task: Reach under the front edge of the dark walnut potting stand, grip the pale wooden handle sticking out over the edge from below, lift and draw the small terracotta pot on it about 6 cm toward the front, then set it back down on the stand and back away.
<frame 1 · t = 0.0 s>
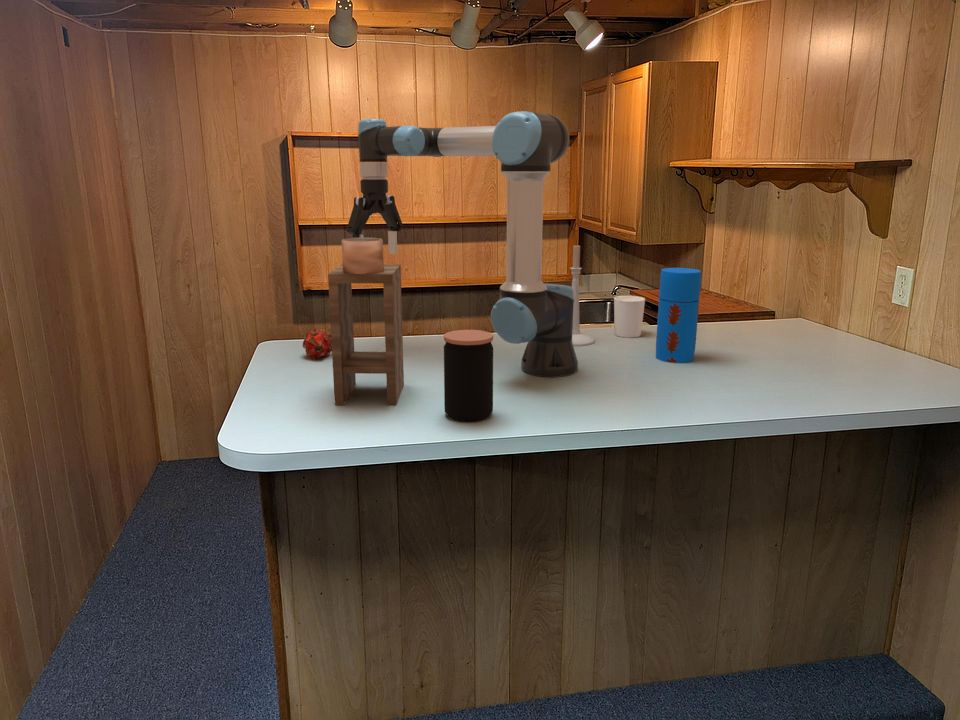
hand: (376, 256, 204), 28 cm above the table, tool pointing down, fingers open, 13 cm apart
potting stand: (370, 394, 173), on the table
thermos: (674, 358, 206), on the table
white cup: (627, 335, 233), on the table
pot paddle: (365, 269, 165), point 30 cm above the table, touching potting stand
candlestick: (573, 342, 225), on the table
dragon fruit: (319, 357, 207), on the table
coffee jar: (468, 415, 159), on the table
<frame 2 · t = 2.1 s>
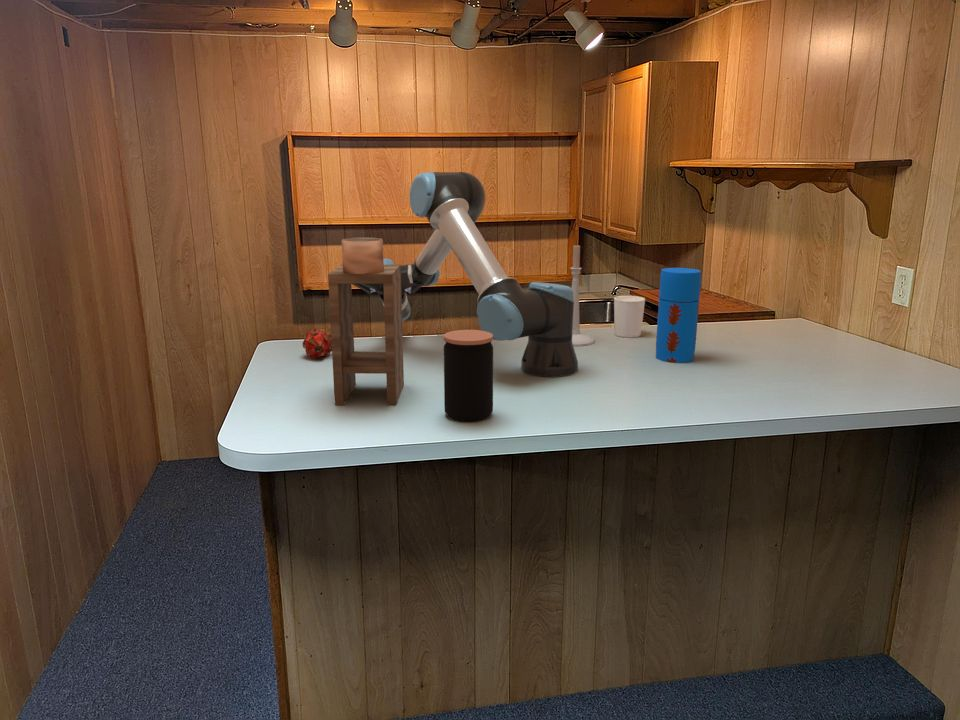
hand: (384, 269, 194), 26 cm above the table, tool pointing upward, fingers open, 13 cm apart
nothing on the table moved.
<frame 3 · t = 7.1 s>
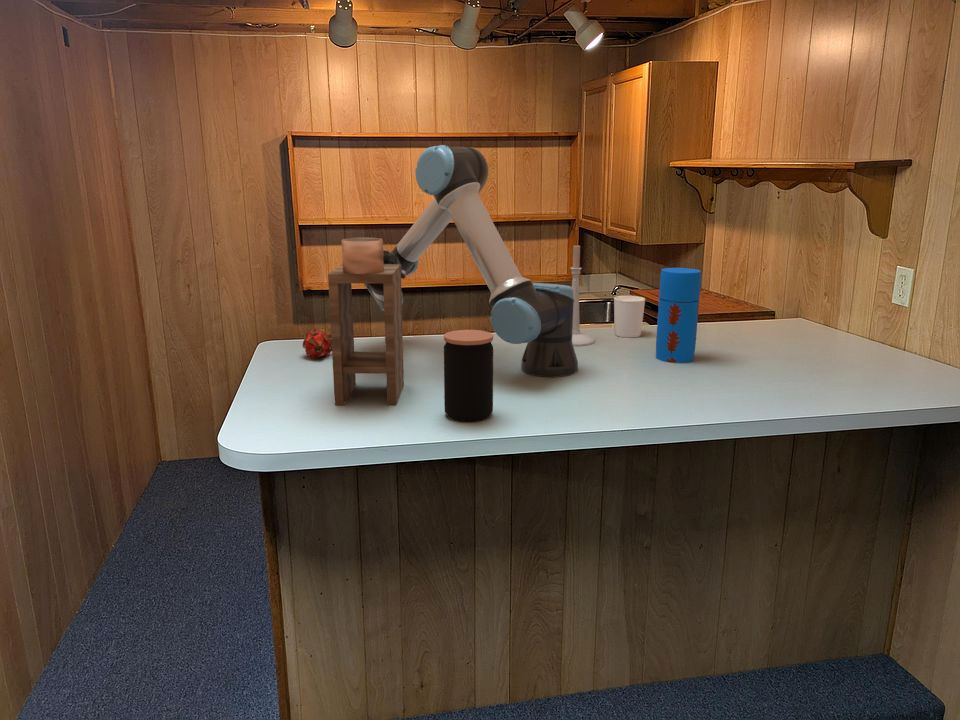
hand: (370, 247, 171), 34 cm above the table, tool pointing upward, fingers closed on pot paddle, 3 cm apart
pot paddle: (365, 269, 165), point 30 cm above the table, touching gripper
everything else where it was.
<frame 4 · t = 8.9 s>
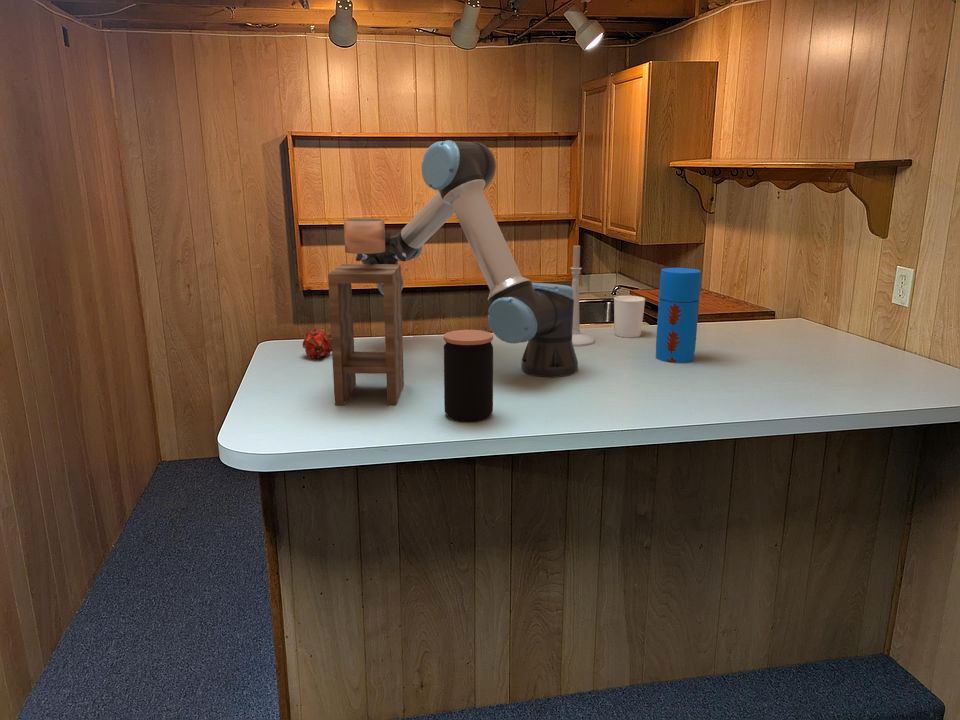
hand: (372, 229, 173), 38 cm above the table, tool pointing upward, fingers closed on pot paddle, 3 cm apart
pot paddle: (367, 249, 167), point 34 cm above the table, touching gripper
everything else where it was.
when the fingers open (35 cm above the table, at t = 11.2 s): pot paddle stays where it is, resting on potting stand.
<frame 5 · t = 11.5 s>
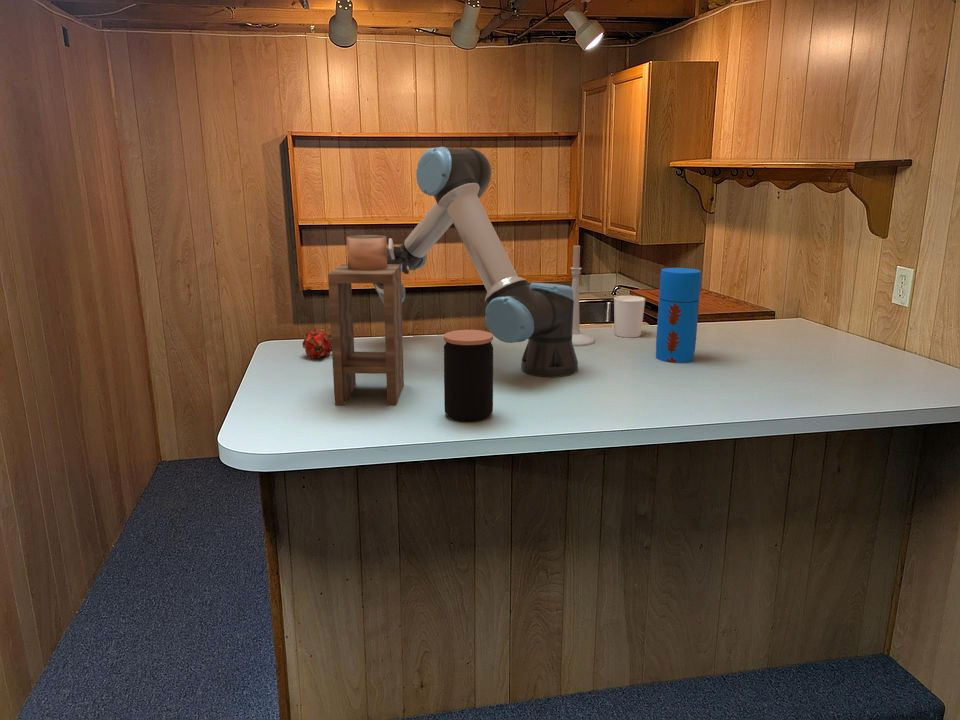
hand: (374, 243, 177), 34 cm above the table, tool pointing upward, fingers open, 7 cm apart
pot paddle: (370, 265, 171), point 30 cm above the table, touching potting stand
everything else where it was.
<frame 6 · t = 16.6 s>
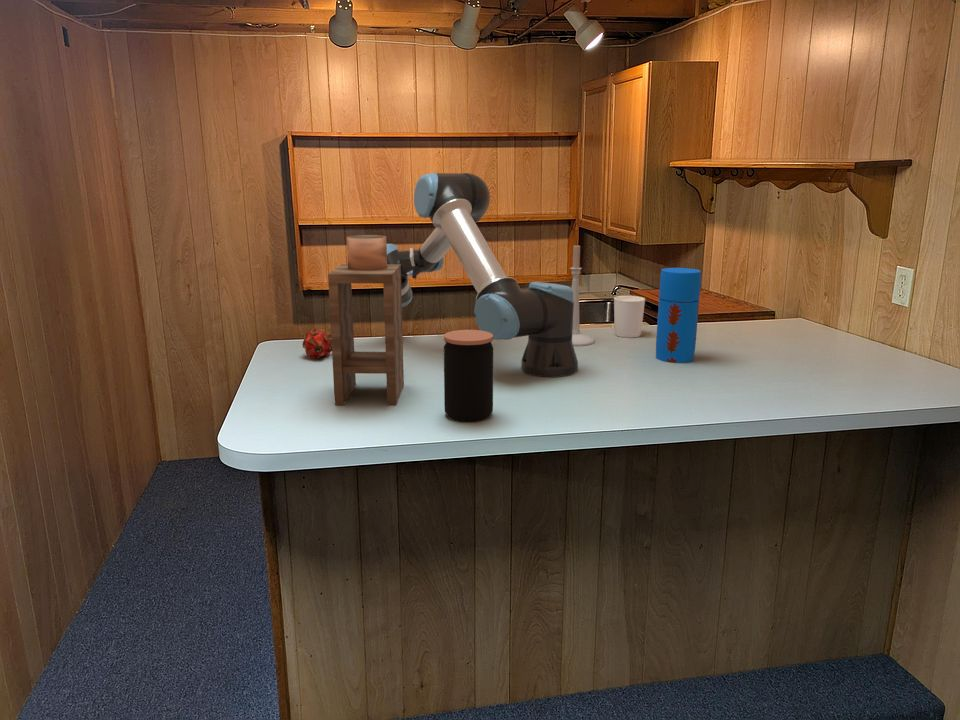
hand: (386, 252, 199), 30 cm above the table, tool pointing upward, fingers open, 13 cm apart
nothing on the table moved.
at the end: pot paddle 0.1 cm from the target spot on the potting stand, point 30.0 cm above the potting stand's base; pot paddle tilted 0°; the gripper is holding nothing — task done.
